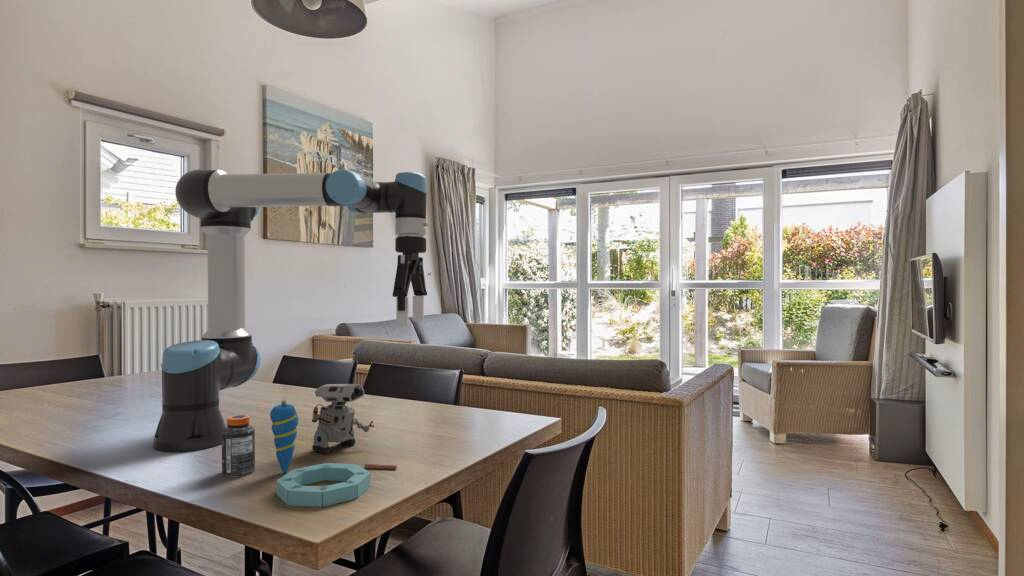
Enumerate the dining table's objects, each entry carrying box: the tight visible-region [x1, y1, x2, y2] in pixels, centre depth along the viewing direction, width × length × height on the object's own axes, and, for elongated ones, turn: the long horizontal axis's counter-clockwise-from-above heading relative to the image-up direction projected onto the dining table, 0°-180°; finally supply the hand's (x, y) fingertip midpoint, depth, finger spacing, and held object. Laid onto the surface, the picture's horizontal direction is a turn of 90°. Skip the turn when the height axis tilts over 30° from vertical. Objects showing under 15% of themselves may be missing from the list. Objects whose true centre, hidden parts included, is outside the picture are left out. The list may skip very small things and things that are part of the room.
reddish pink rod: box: [363, 463, 398, 470], centre depth 117 cm, size 7×1×1 cm, turn 83°
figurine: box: [311, 383, 375, 455], centre depth 130 cm, size 9×12×15 cm
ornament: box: [269, 397, 299, 475], centre depth 114 cm, size 5×5×15 cm
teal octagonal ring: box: [276, 462, 371, 508], centre depth 105 cm, size 15×15×2 cm
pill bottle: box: [221, 414, 256, 478], centre depth 114 cm, size 6×6×11 cm
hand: (410, 323), depth 142 cm, fingers open, 13 cm apart
